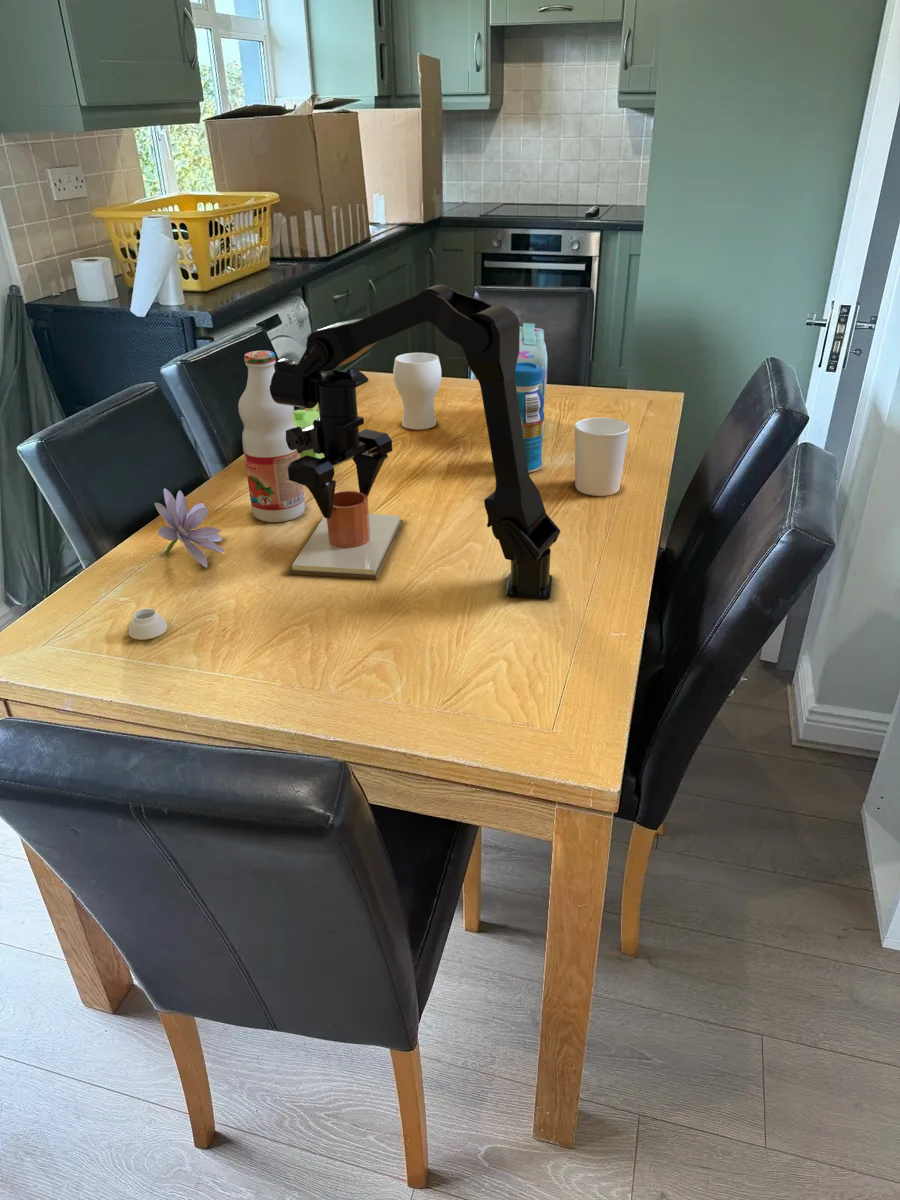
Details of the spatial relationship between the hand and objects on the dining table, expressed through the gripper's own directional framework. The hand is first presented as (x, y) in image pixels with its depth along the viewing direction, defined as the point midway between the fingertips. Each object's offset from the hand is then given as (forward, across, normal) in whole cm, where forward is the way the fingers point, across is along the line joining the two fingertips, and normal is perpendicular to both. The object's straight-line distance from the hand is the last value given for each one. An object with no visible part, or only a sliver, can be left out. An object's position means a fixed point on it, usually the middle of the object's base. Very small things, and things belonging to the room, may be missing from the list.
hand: (346, 507), depth 134 cm
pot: (+6, 0, 0) cm, 6 cm away
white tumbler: (+7, -44, +24) cm, 51 cm away
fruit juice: (+7, -4, -19) cm, 21 cm away
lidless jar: (+7, +35, -7) cm, 36 cm away
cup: (+7, -57, -26) cm, 63 cm away
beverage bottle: (+7, -46, +6) cm, 47 cm away
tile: (+7, 0, 0) cm, 7 cm away
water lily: (+7, +16, -19) cm, 26 cm away
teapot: (+7, -26, -33) cm, 42 cm away
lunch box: (+7, -68, -6) cm, 68 cm away
